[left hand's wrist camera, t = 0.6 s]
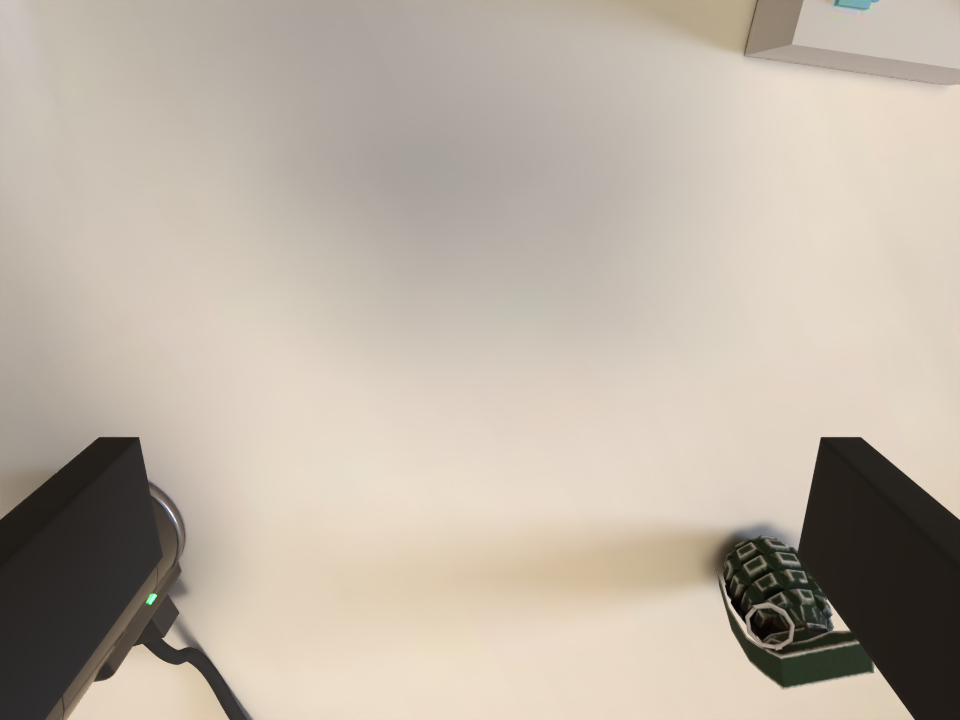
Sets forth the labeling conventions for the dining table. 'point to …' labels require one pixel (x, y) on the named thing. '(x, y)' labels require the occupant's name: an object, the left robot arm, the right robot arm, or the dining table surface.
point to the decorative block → (862, 36)
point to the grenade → (786, 617)
